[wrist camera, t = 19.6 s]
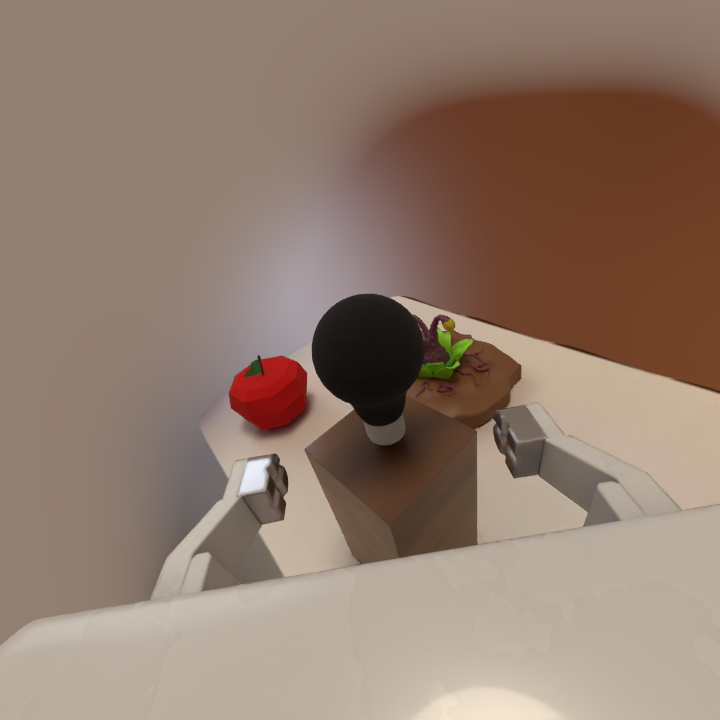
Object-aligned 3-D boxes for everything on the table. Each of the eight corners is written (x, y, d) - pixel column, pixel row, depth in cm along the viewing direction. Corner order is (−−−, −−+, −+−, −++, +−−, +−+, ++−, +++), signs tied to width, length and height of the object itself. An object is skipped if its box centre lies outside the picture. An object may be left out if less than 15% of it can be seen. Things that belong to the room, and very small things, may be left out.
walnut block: (477, 546, 29) (477, 430, 21) (419, 628, 25) (390, 526, 17) (407, 493, 34) (385, 384, 26) (351, 553, 31) (303, 449, 22)
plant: (448, 464, 36) (441, 387, 30) (343, 391, 50) (324, 328, 44) (542, 371, 45) (553, 296, 38) (431, 331, 59) (425, 271, 52)
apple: (268, 387, 55) (245, 336, 49) (326, 390, 51) (307, 335, 46) (231, 436, 47) (198, 382, 41) (296, 444, 43) (268, 386, 38)
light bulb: (448, 464, 19) (436, 311, 13) (349, 490, 19) (295, 346, 13) (419, 398, 24) (400, 266, 18) (340, 419, 24) (297, 292, 18)
